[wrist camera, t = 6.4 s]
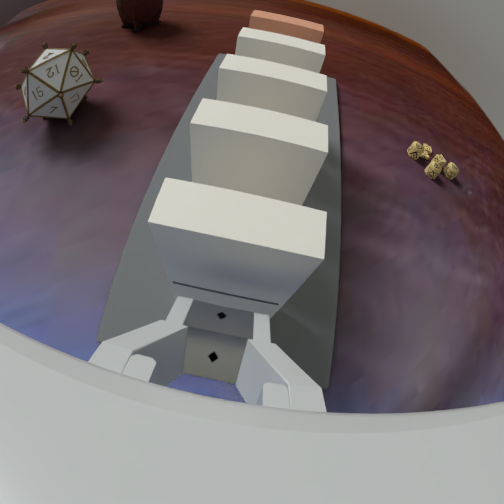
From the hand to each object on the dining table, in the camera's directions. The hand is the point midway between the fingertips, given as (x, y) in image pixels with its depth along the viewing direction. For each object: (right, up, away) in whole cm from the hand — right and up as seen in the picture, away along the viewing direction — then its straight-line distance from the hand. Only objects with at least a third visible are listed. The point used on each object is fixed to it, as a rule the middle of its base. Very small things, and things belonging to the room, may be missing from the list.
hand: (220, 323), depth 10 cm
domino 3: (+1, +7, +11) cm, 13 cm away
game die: (-18, +16, +14) cm, 28 cm away
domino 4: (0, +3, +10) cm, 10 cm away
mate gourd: (-16, +36, +23) cm, 46 cm away
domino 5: (-1, -1, +8) cm, 8 cm away
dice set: (+20, +11, +18) cm, 29 cm away
